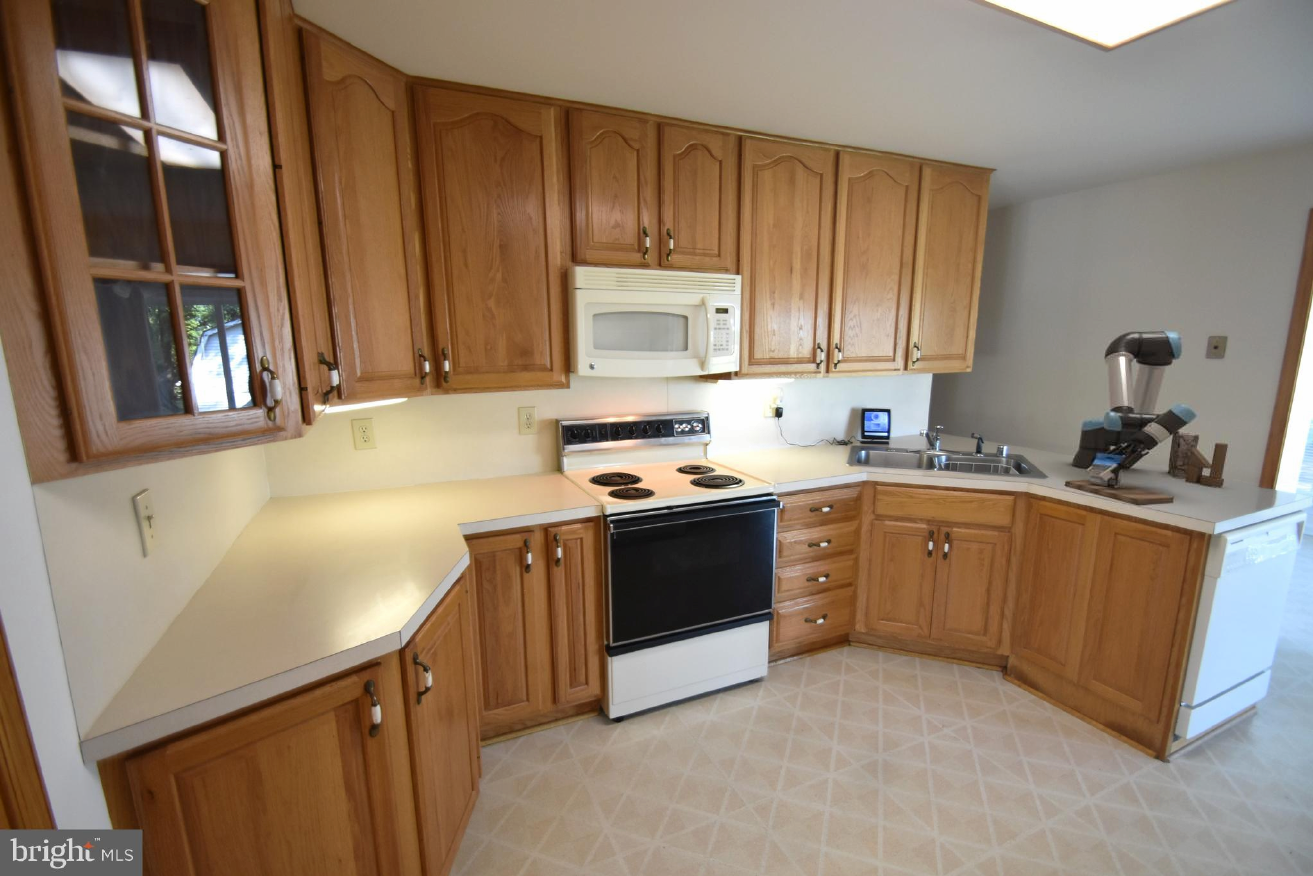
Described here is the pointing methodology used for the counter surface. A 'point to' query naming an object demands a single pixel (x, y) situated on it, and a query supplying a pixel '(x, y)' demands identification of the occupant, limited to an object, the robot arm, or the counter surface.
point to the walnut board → (1121, 493)
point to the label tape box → (1101, 466)
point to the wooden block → (1207, 466)
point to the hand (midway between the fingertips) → (1095, 475)
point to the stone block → (1181, 452)
